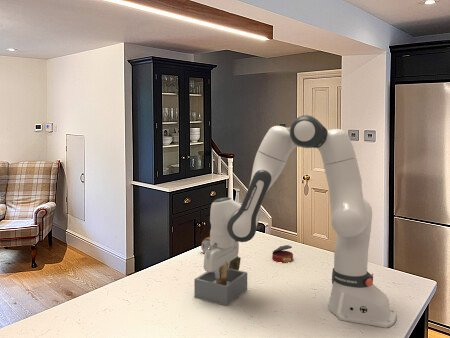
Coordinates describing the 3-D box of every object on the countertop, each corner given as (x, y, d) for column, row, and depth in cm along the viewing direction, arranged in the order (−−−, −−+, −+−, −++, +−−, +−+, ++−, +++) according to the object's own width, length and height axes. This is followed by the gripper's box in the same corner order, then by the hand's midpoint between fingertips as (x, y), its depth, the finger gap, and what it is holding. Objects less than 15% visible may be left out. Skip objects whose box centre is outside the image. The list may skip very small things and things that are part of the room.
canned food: (275, 271, 184) (265, 253, 183) (278, 262, 193) (269, 244, 193) (296, 263, 180) (286, 244, 179) (299, 254, 189) (289, 236, 189)
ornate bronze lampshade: (233, 280, 162) (233, 262, 161) (219, 276, 166) (219, 258, 165) (243, 275, 167) (244, 257, 167) (230, 271, 172) (230, 253, 171)
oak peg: (228, 289, 150) (228, 259, 149) (223, 293, 147) (223, 263, 145) (219, 287, 152) (219, 258, 151) (214, 291, 149) (214, 261, 147)
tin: (229, 257, 190) (229, 240, 189) (225, 259, 187) (225, 242, 186) (203, 251, 197) (203, 235, 196) (200, 253, 195) (200, 237, 194)
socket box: (247, 289, 153) (247, 272, 152) (226, 305, 139) (226, 287, 138) (216, 282, 160) (216, 265, 159) (194, 296, 146) (194, 279, 145)
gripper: (214, 249, 137) (214, 287, 138) (241, 234, 154) (241, 268, 156) (199, 246, 140) (199, 283, 141) (227, 232, 157) (227, 265, 159)
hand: (221, 275), depth 149 cm, fingers closed on oak peg, 4 cm apart
